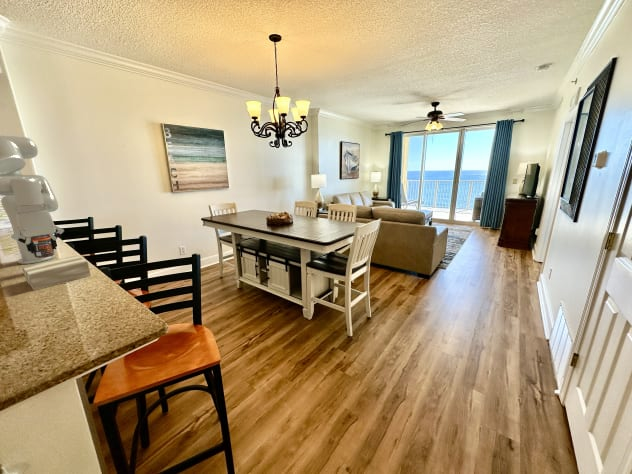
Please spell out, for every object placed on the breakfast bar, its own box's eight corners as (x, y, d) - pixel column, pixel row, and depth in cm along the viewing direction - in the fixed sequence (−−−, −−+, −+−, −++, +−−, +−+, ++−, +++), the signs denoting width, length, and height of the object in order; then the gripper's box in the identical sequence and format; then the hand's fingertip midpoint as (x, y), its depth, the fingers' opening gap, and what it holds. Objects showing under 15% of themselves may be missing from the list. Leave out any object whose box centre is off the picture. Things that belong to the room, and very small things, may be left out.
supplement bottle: (42, 259, 107) (34, 232, 104) (31, 257, 108) (23, 231, 105) (58, 254, 112) (52, 229, 109) (47, 253, 113) (41, 228, 110)
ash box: (26, 281, 100) (22, 266, 98) (80, 268, 112) (76, 255, 111) (34, 290, 92) (29, 274, 90) (90, 275, 105) (87, 261, 103)
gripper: (58, 205, 113) (68, 244, 118) (-3, 210, 100) (11, 254, 105) (63, 207, 109) (73, 247, 114) (0, 212, 96) (14, 258, 101)
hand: (43, 250), depth 109 cm, fingers closed on supplement bottle, 6 cm apart
